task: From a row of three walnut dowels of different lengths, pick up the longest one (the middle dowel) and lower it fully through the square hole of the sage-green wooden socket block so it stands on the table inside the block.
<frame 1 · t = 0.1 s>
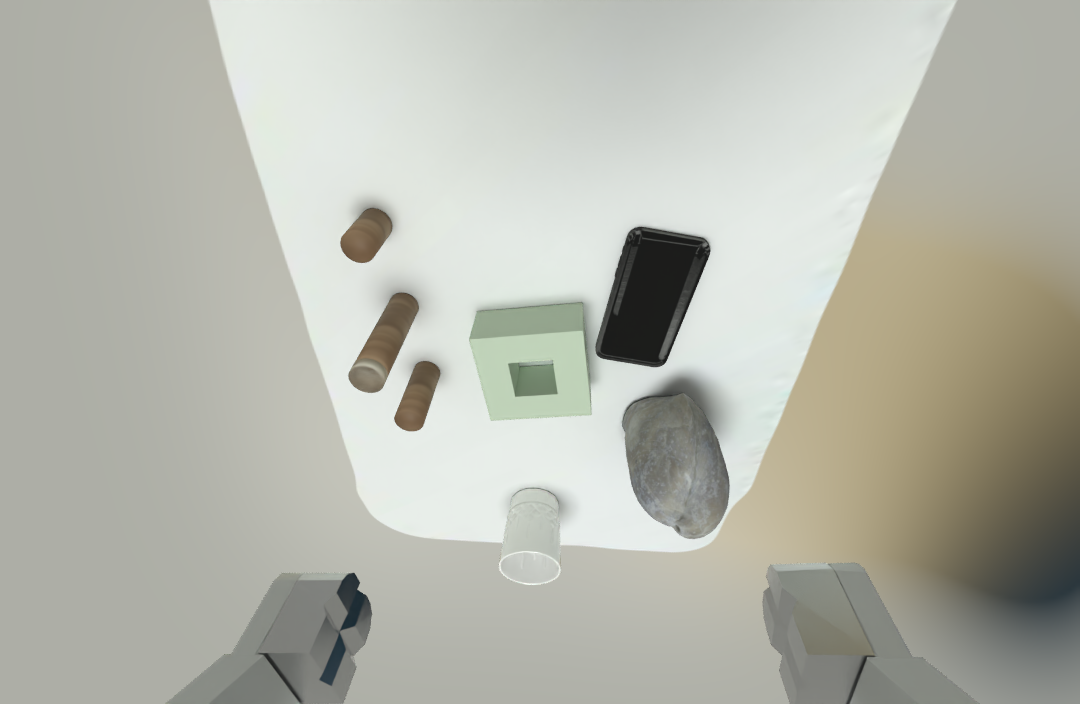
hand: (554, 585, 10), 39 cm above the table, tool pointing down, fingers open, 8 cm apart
pin medium: (427, 371, 58), on the table
white cup: (534, 501, 72), on the table
phone: (646, 298, 51), on the table
pin short: (376, 223, 47), on the table
socket block: (536, 349, 55), on the table
decorative stone: (664, 419, 61), on the table
pin long: (404, 305, 53), on the table
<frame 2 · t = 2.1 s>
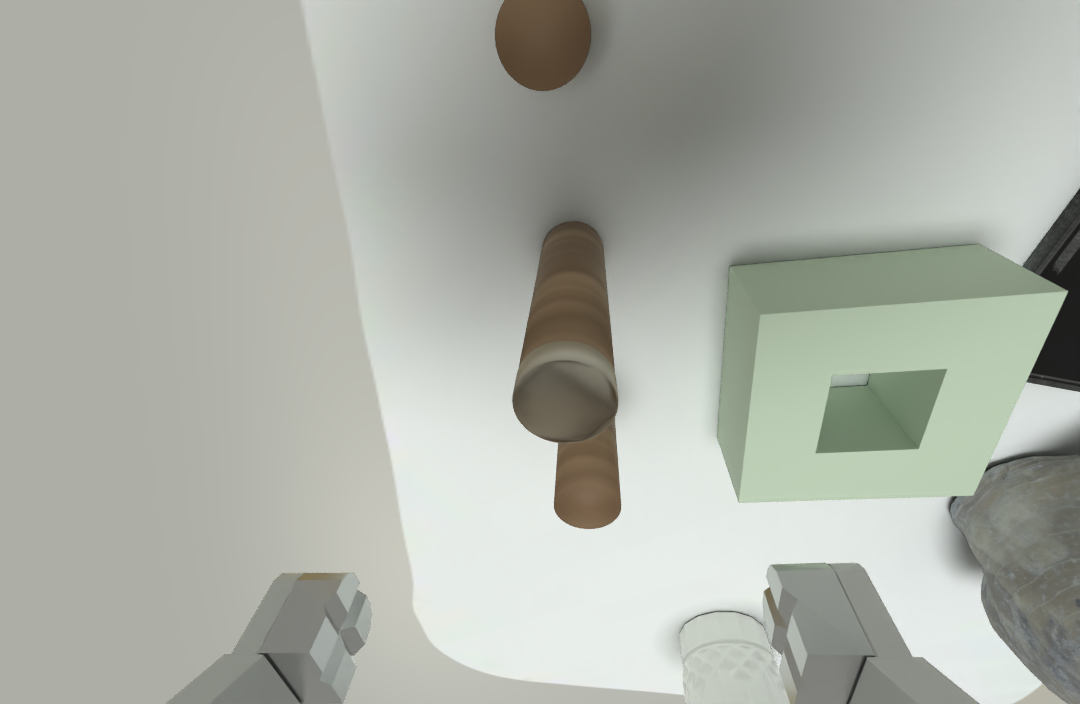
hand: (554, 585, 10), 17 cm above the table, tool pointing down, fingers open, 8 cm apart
pin medium: (587, 397, 29), on the table
white cup: (720, 631, 41), on the table
pin short: (551, 36, 20), on the table
socket block: (830, 353, 27), on the table
decorative stone: (1035, 498, 31), on the table
pin long: (572, 251, 25), on the table
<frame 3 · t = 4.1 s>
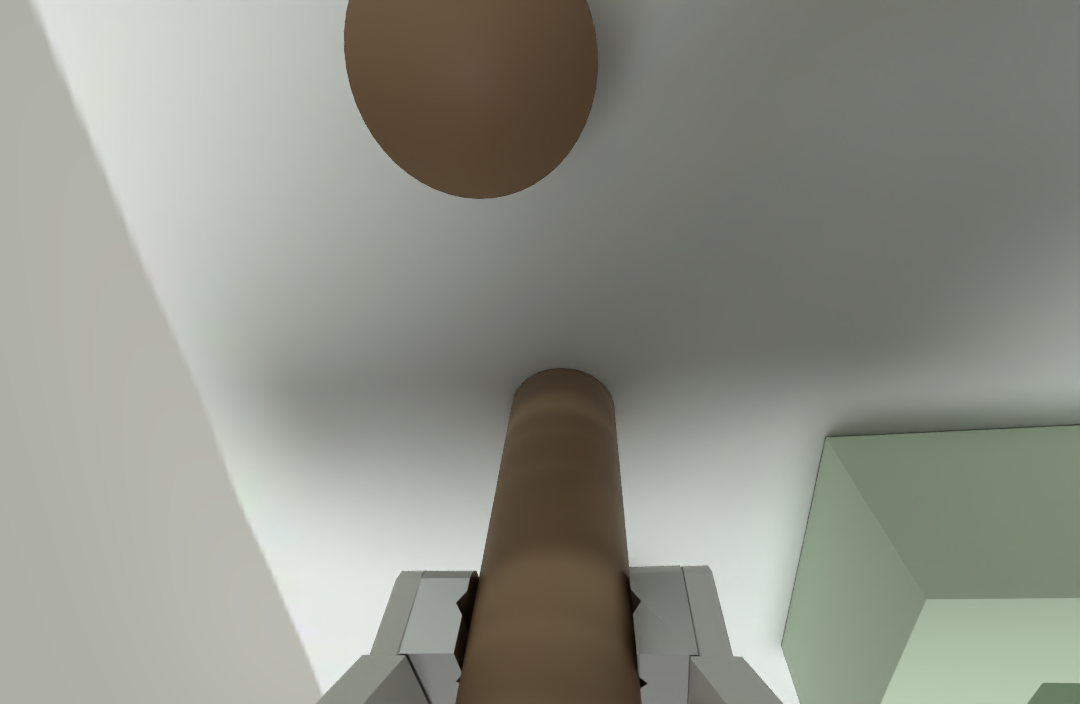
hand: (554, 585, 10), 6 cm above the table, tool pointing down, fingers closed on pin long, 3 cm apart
pin short: (516, 59, 10), on the table
socket block: (974, 555, 17), on the table
pin long: (562, 411, 15), on the table, touching gripper
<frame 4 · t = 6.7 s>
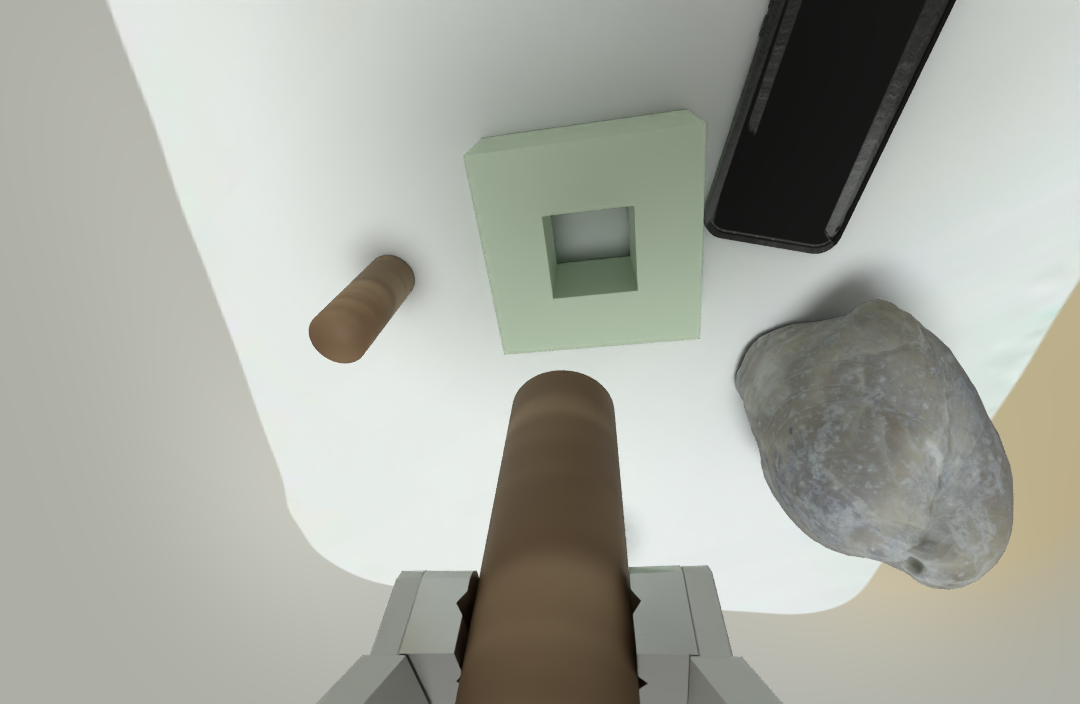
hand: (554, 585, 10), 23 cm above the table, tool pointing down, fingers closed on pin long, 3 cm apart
pin medium: (391, 277, 33), on the table
phone: (812, 100, 26), on the table
socket block: (590, 224, 30), on the table
decorative stone: (810, 371, 34), on the table
pin long: (562, 412, 15), point 18 cm above the table, touching gripper
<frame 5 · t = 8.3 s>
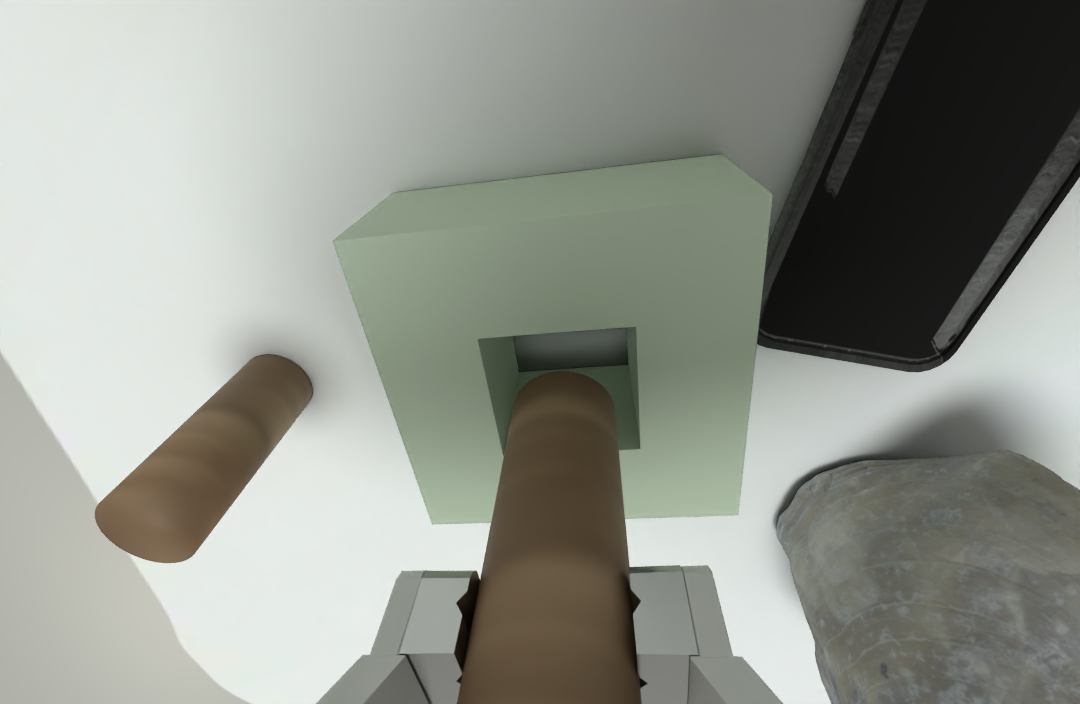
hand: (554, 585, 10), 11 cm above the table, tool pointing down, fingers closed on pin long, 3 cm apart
pin medium: (278, 384, 22), on the table
phone: (928, 142, 16), on the table
socket block: (567, 320, 20), on the table
decorative stone: (883, 515, 24), on the table
pin long: (563, 413, 15), point 6 cm above the table, touching gripper
when the fingers open (7 cm above the table, at t = 9.6 s): pin long stays where it is, resting in socket block.
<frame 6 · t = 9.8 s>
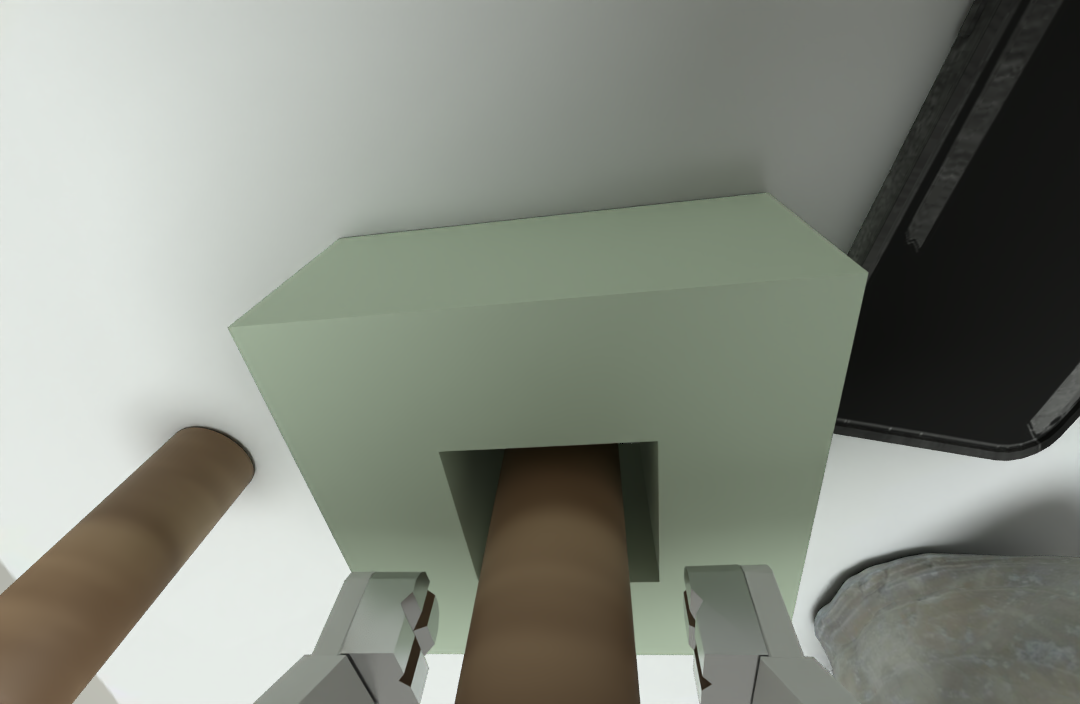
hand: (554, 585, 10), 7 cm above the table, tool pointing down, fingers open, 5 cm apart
pin medium: (212, 459, 18), on the table
phone: (1041, 176, 12), on the table
socket block: (564, 391, 16), on the table
decorative stone: (942, 609, 20), on the table
pin long: (564, 392, 16), resting in socket block
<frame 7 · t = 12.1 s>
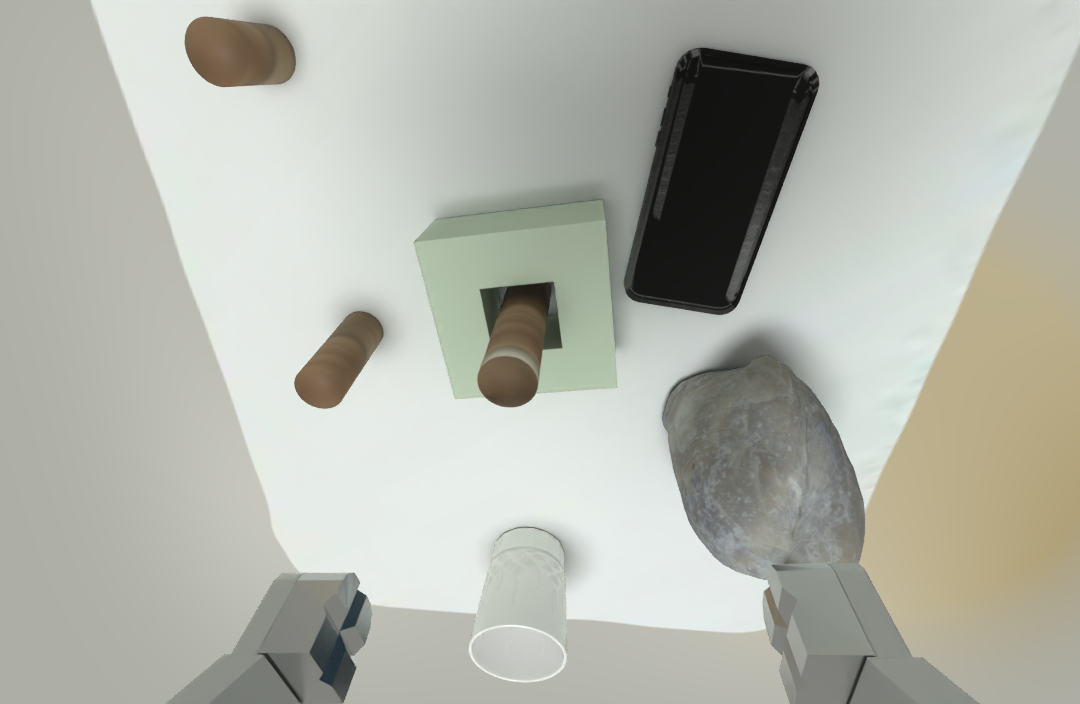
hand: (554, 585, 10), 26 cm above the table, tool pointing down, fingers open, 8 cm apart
pin medium: (363, 330, 38), on the table
white cup: (529, 549, 49), on the table
phone: (706, 192, 32), on the table
pin short: (269, 54, 29), on the table
socket block: (529, 288, 35), on the table
decorative stone: (728, 411, 39), on the table
pin long: (529, 288, 35), resting in socket block
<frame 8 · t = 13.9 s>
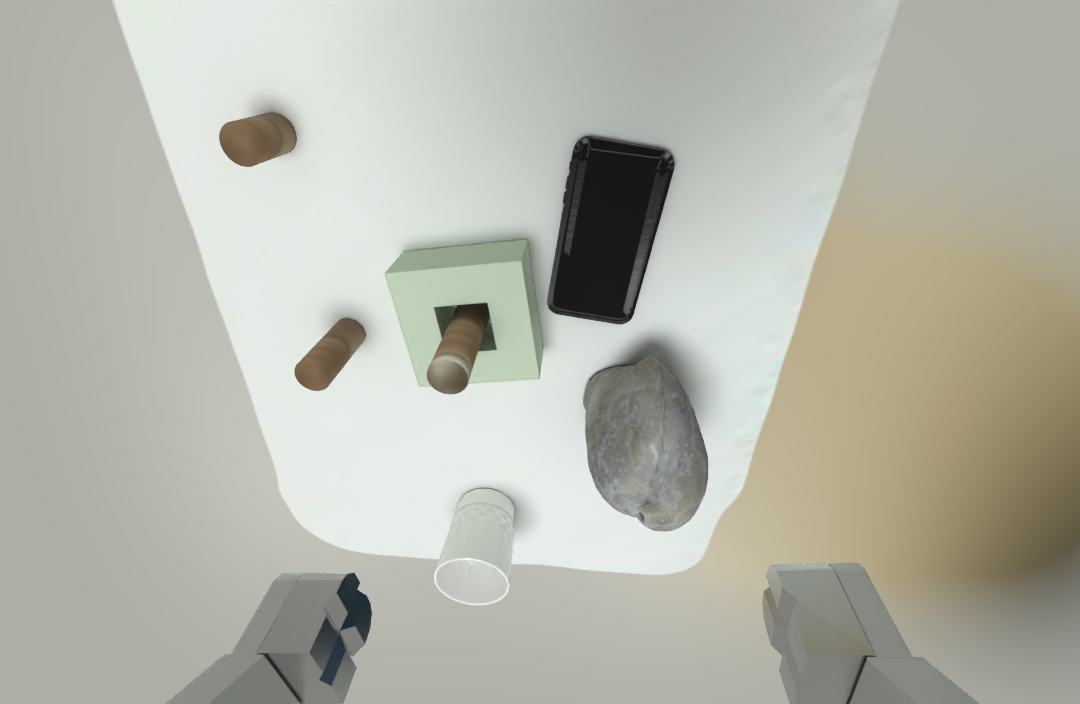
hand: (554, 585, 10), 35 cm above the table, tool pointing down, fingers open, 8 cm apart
pin medium: (349, 332, 49), on the table
white cup: (487, 505, 61), on the table
phone: (604, 234, 43), on the table
pin short: (277, 133, 40), on the table
socket block: (476, 302, 46), on the table
decorative stone: (634, 397, 51), on the table
pin long: (476, 303, 46), resting in socket block
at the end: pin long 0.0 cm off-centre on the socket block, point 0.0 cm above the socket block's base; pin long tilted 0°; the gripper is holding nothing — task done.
